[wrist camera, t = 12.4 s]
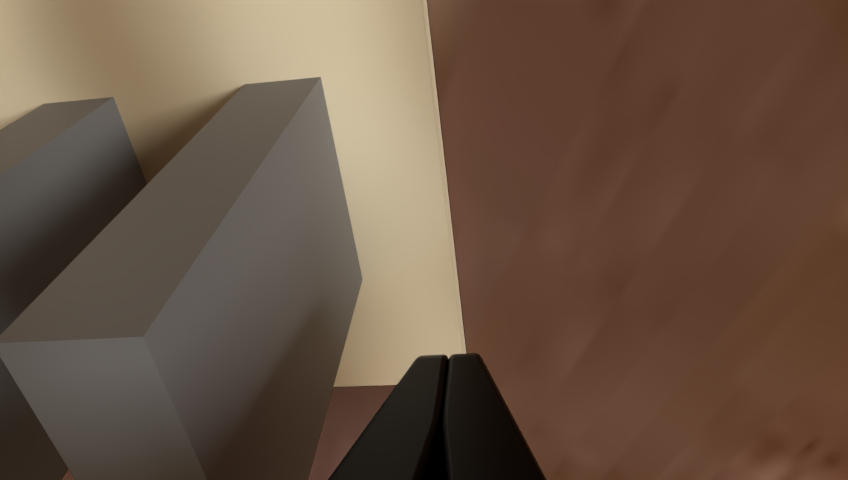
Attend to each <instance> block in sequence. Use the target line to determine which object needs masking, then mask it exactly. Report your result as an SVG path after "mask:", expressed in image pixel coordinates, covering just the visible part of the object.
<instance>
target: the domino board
mask: <svg viewBox="0 0 848 480" xmlns="http://www.w3.org/2000/svg"><path fill="white" fill-rule="evenodd" d="M315 77H321V81H322V86H323V90H324V95H325V100H326V105H327V110H328V115H329V119H330V124H331V129H332V134H333V139H334V144H335V148H336V153H337V158H338V163H339V168H340V173H341V177H342V182H343V187H344V192H345V197H346V202H347V206H348V211H349V216H350V221H351V226H352V231H353V235H354V240H355V245H356V250H357V255H358V260H359V265H360V269H361V274H362V279H363V280H362V283H361V287H360V291H359V294H358V298H357V302H356V305H355V309H354V313H353V316H352V320H351V324H350V327H349V331H348V335H347V338H346V342H345V346H344V349H343V353H342V357H341V360H340V364H339V368H338V371H337V375H336V379H335V382H334V386H333V387H344V386H374V385H397V384H398V383H399V381H400V380H401V379H402V377H403V376H404V374H405V373H406V372H407V370H408V369H409V368H410V366H411V365H412V363H413V362H414V361H415V359H416V358H417V357H419V356H422V355H442V354H443V355H446V356H447V357H448V359H449V357H450V356H451V355H452V354H465V353H466V348H465V339H464V330H463V321H462V312H461V303H460V294H459V285H458V277H457V268H456V259H455V250H454V241H453V232H452V223H451V214H450V206H449V197H448V188H447V179H446V170H445V161H444V152H443V143H442V135H441V126H440V117H439V108H438V99H437V90H436V81H435V72H434V64H433V55H432V46H431V37H430V28H429V19H428V10H427V1H426V0H0V130H1V129H3V128H4V127H6V126H8V125H9V124H11V123H13V122H14V121H16V120H18V119H19V118H21V117H23V116H24V115H26V114H28V113H29V112H31V111H33V110H34V109H36V108H38V107H39V106H41V105H43V104H46V103H56V102H67V101H77V100H87V99H98V98H108V97H114V100H115V102H116V105H117V107H118V110H119V113H120V115H121V118H122V121H123V123H124V126H125V128H126V131H127V134H128V136H129V139H130V141H131V144H132V147H133V149H134V152H135V154H136V157H137V160H138V162H139V165H140V167H141V170H142V173H143V175H144V178H145V180H146V183H147V184H148V183H149V182H150V181H151V180H152V179H153V178H154V177H155V176H156V175H157V174H158V173H159V172H160V171H161V170H162V169H163V168H164V167H165V166H166V165H167V164H168V163H169V162H170V161H171V160H172V159H173V158H174V156H175V155H176V154H177V153H178V152H179V151H180V150H181V149H182V148H183V147H184V146H185V145H186V144H187V143H188V142H189V141H190V140H191V139H192V138H193V137H194V136H195V135H196V134H197V133H198V132H199V131H200V130H201V129H202V128H203V127H204V126H205V125H206V124H207V123H208V122H209V121H210V120H211V119H212V118H213V116H214V115H215V114H216V113H217V112H218V111H219V110H220V109H221V108H222V107H223V106H224V105H225V104H226V103H227V102H228V101H229V100H230V99H231V98H232V97H233V96H234V95H235V94H236V93H237V92H238V91H239V90H240V89H241V88H242V87H243V86H244V85H245V84H253V83H263V82H273V81H284V80H294V79H304V78H315Z"/></svg>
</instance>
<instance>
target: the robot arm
mask: <svg viewBox="0 0 848 480" xmlns="http://www.w3.org/2000/svg"><path fill="white" fill-rule="evenodd" d="M328 480H546V478H545V476H544V474H543V472H542V470H541V469H540V467H539V465H538V463H537V461H536V459H535V457H534V455H533V454H532V452H531V450H530V448H529V446H528V444H527V442H526V440H525V438H524V437H523V435H522V433H521V431H520V429H519V427H518V425H517V423H516V422H515V420H514V418H513V416H512V414H511V412H510V410H509V408H508V406H507V405H506V403H505V401H504V399H503V397H502V395H501V393H500V391H499V390H498V388H497V386H496V384H495V382H494V380H493V378H492V376H491V374H490V373H489V371H488V369H487V367H486V365H485V363H484V361H483V359H482V358H481V356H480V355H479V354H477V353H465V354H452V355H451V356H450V357H449V359H448V357H447V356H446V355H443V354H442V355H422V356H419V357H417V358H416V359H415V361H414V362H413V363H412V365H411V366H410V368H409V369H408V370H407V372H406V373H405V374H404V376H403V377H402V379H401V380H400V381H399V383H398V384H397V385H396V387H395V388H394V390H393V391H392V392H391V394H390V395H389V396H388V398H387V399H386V401H385V402H384V403H383V405H382V406H381V408H380V409H379V410H378V412H377V413H376V414H375V416H374V417H373V419H372V420H371V421H370V423H369V424H368V425H367V427H366V428H365V430H364V431H363V432H362V434H361V435H360V436H359V438H358V439H357V441H356V442H355V443H354V445H353V446H352V447H351V449H350V450H349V452H348V453H347V454H346V456H345V457H344V458H343V460H342V461H341V463H340V464H339V465H338V467H337V468H336V469H335V471H334V472H333V474H332V475H331V476H330V478H329V479H328Z"/></svg>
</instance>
